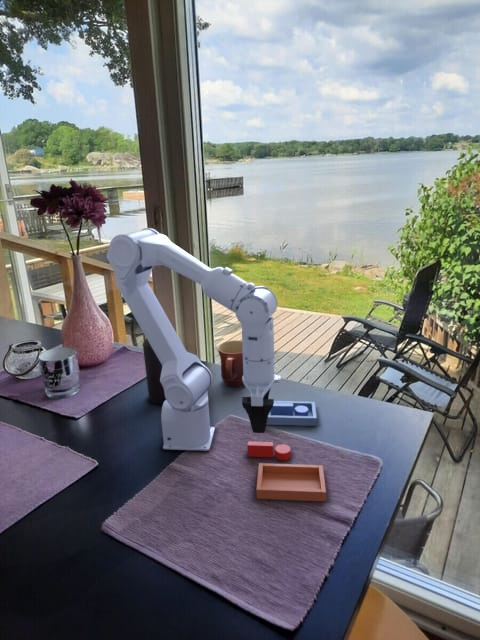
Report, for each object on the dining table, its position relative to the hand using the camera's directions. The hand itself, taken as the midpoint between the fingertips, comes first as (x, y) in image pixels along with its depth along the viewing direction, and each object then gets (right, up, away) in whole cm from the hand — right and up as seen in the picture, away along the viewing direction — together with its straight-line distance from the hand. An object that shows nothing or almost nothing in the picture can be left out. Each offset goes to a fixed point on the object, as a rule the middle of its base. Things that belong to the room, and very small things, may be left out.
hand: (259, 420), depth 84 cm
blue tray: (+7, -2, +15) cm, 17 cm away
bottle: (-23, 0, +25) cm, 34 cm away
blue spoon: (+7, -2, +15) cm, 16 cm away
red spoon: (+2, -7, +2) cm, 8 cm away
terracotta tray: (+5, -10, -7) cm, 13 cm away
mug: (-5, +2, +29) cm, 30 cm away
